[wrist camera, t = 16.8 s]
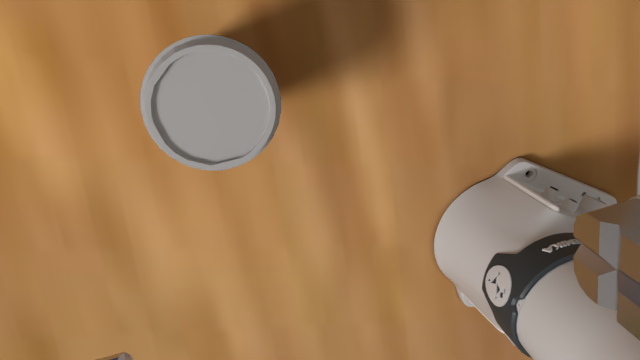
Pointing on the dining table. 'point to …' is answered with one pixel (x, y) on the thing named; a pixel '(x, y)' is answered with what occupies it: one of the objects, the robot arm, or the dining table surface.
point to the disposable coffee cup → (210, 102)
